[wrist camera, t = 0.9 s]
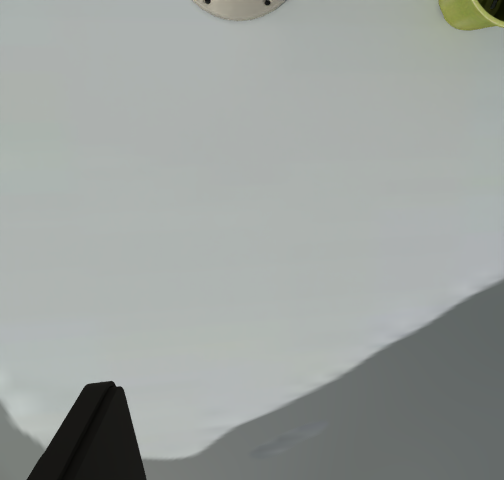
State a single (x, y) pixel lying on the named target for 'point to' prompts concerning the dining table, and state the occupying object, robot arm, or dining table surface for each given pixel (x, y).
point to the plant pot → (472, 13)
